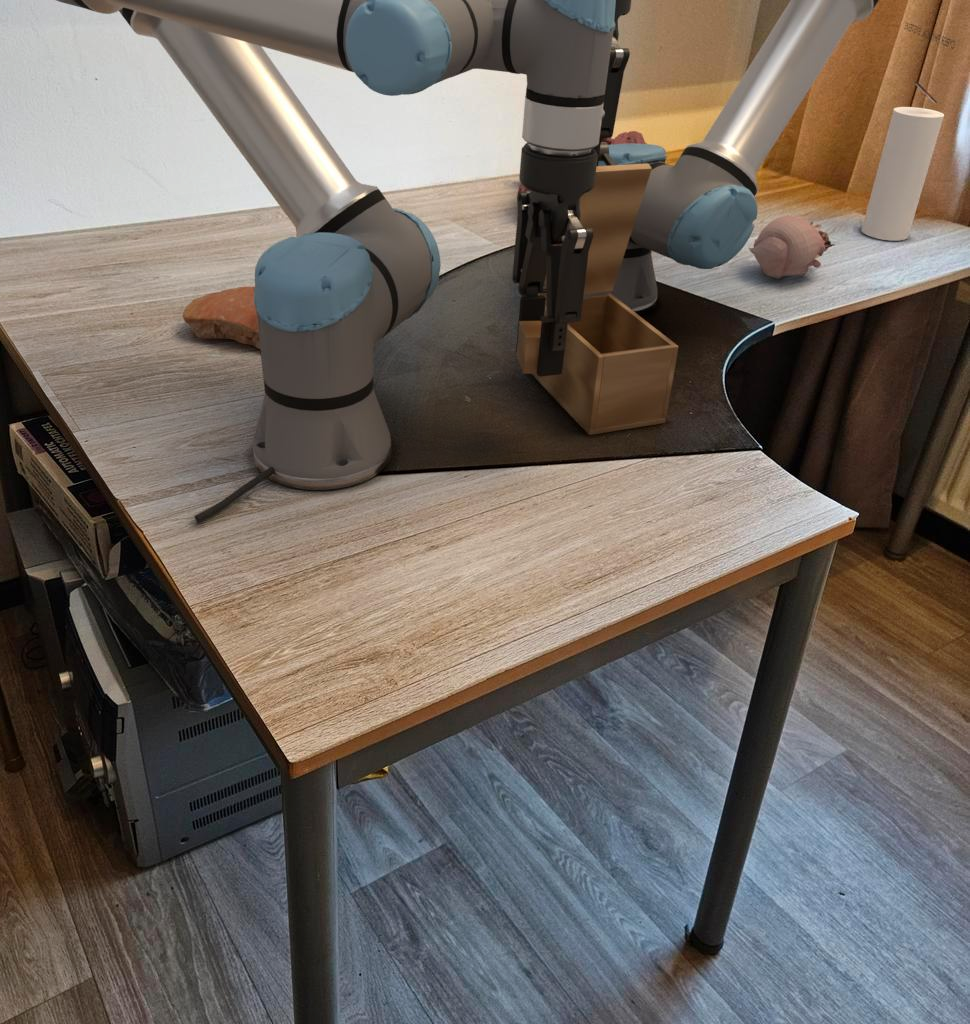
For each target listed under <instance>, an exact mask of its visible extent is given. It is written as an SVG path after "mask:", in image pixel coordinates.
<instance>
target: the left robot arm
mask: <svg viewBox="0 0 970 1024" xmlns="http://www.w3.org/2000/svg"><path fill="white" fill-rule="evenodd" d="M55 1H56V2H59V3H62V4H66V5H70V6H74V7H78V8H82V9H84V10H85V9H86V10H89V11H91V12H95V13H99V14H103V15H104V14H105V15H111V14H116V13H118V12H119V14H120V15H121V16H122V18H123V19H124V20H125V21H126V23H127V24H128V25H129V27H130V28H131V29H132V31H133V32H134V33H135V34H136V35H139V36H144V37H149V38H153V39H155V40H157V41H158V43H160V45H161V47H162V48H163V49H164V50H165V51H166V53H167V55H168V56H169V57H170V58H171V60H172V61H173V63H174V64H175V66H176V67H177V69H179V71H180V72H181V73H182V74H183V76H184V77H185V79H186V80H187V82H188V83H189V84H190V86H191V87H192V89H193V90H194V91H195V93H196V94H197V95H198V96H199V98H200V100H201V101H202V102H203V104H204V105H205V106H206V108H207V109H208V110H209V112H210V113H211V114H212V116H213V117H214V118H215V120H216V121H217V122H218V124H219V125H220V127H221V128H222V129H223V131H224V132H225V133H226V134H227V136H228V137H229V139H230V140H231V141H232V143H233V145H234V146H235V148H237V150H238V151H239V153H240V154H241V155H242V156H243V157H244V159H245V161H246V162H247V163H248V165H249V167H251V169H252V170H253V171H254V173H255V174H256V176H257V177H258V179H260V182H262V184H263V185H264V186H265V188H266V189H267V190H268V192H269V194H270V195H271V196H272V198H273V199H274V200H275V201H276V203H277V204H278V205H279V207H280V208H281V210H282V211H283V212H284V214H285V215H286V216H287V218H288V219H289V221H290V222H291V223H292V225H293V226H294V227H295V232H296V234H295V236H290V237H287V238H284V239H282V240H279V241H277V242H276V243H274V244H272V245H271V246H270V247H268V248H267V249H266V250H265V251H264V252H263V253H262V254H261V256H260V257H259V258H258V259H257V262H256V265H255V268H254V287H255V290H254V304H255V307H256V311H257V319H258V330H259V340H260V349H259V350H260V359H261V369H262V378H263V388H264V390H263V391H264V396H263V400H262V404H261V408H260V412H259V415H258V419H257V423H256V427H255V430H254V434H253V439H252V441H253V442H252V455H253V460H254V464H255V467H256V468H257V470H258V471H259V472H260V474H257V475H256V476H255V477H253V478H252V479H251V480H249V481H248V482H246V483H245V484H243V485H242V486H240V487H239V488H238V489H236V490H235V491H233V492H232V493H230V494H229V495H228V496H227V497H225V498H224V499H221V500H220V501H219V502H217V503H216V504H215V505H213V506H211V507H209V508H207V509H205V510H203V511H201V512H200V513H198V514H195V515H194V520H195V521H196V522H197V523H201V522H202V521H204V520H206V519H208V518H210V517H212V516H214V515H215V514H217V513H219V512H220V511H222V510H223V509H225V508H227V507H228V506H230V505H231V504H232V503H233V502H235V501H237V500H238V499H239V498H240V497H242V496H243V495H245V494H246V493H247V492H249V491H251V490H252V489H254V488H255V487H256V486H258V485H259V484H261V483H262V482H264V481H265V480H266V479H269V480H271V481H273V482H275V483H278V484H280V485H283V486H286V487H290V488H295V489H301V490H312V491H314V490H315V491H323V490H327V491H328V490H337V489H342V488H348V487H351V486H355V485H358V484H361V483H363V482H366V481H368V480H370V479H373V478H374V477H375V476H377V475H378V474H380V473H381V472H382V471H383V470H384V469H385V468H386V467H387V466H388V464H389V463H390V461H391V458H392V438H391V432H390V430H389V427H388V424H387V422H386V419H385V417H384V413H383V411H382V408H381V406H380V403H379V400H378V398H377V395H376V393H375V385H374V346H375V344H377V343H378V342H379V341H380V340H382V339H383V338H385V337H386V336H387V335H388V334H389V333H391V332H392V331H393V330H394V329H396V328H397V327H398V326H400V325H401V324H402V323H404V322H405V321H406V320H408V319H410V318H411V317H412V316H414V315H415V314H417V313H418V312H420V311H421V309H422V308H423V307H424V305H425V303H427V301H428V300H430V298H431V297H432V295H433V294H434V292H435V291H436V289H437V286H438V284H439V280H440V273H441V268H442V267H441V255H440V250H439V246H438V244H437V241H436V239H435V236H434V235H433V233H432V231H431V230H430V229H429V227H428V225H426V223H425V222H424V221H423V220H422V219H420V217H418V216H417V215H415V214H413V213H412V212H408V211H407V212H406V211H405V210H404V211H405V212H404V211H402V210H399V209H400V208H393V207H392V205H391V204H390V202H389V201H388V199H387V198H386V197H385V195H384V194H383V193H382V191H381V190H380V188H379V187H378V186H376V185H370V184H365V183H361V182H359V181H358V180H356V178H355V176H354V175H353V173H351V171H350V169H349V168H348V167H347V166H346V164H345V163H344V161H343V160H342V158H341V157H340V155H339V154H338V153H337V151H336V149H335V148H334V147H333V146H332V145H331V142H330V141H329V140H328V139H327V137H326V136H325V134H324V133H323V131H322V130H321V128H320V127H319V125H317V123H316V121H315V120H314V119H313V117H312V116H311V114H310V113H309V112H308V110H307V108H306V107H305V106H304V105H303V103H302V102H301V101H300V100H301V99H299V97H298V96H297V94H296V93H295V92H294V90H293V89H292V88H291V86H290V85H289V83H288V82H287V81H286V79H285V78H284V76H283V75H282V73H281V72H280V71H279V69H278V68H277V66H276V65H275V64H274V62H273V61H272V59H271V58H270V57H269V55H268V54H267V53H266V51H265V50H264V48H267V49H270V50H273V51H276V52H280V53H284V54H287V55H291V56H293V57H298V58H301V59H304V60H309V61H312V62H316V63H319V64H323V65H326V66H329V67H332V68H333V67H334V68H337V69H340V70H344V71H347V72H351V73H354V75H355V76H356V77H357V78H358V79H359V80H360V81H361V82H362V83H363V84H364V85H365V86H366V87H367V88H368V89H370V90H371V91H373V92H374V93H377V94H379V95H383V96H389V97H390V96H391V97H396V96H402V95H407V96H409V95H414V94H418V93H421V92H423V91H425V90H427V89H428V88H430V87H432V86H433V85H435V84H438V83H441V82H443V81H445V80H448V79H450V78H453V77H456V76H459V75H461V74H464V73H467V72H470V71H472V70H487V71H494V72H503V73H504V72H505V73H510V74H515V75H525V76H526V89H525V96H524V107H523V118H522V132H521V133H522V134H521V138H522V139H523V140H524V141H525V142H526V143H524V145H523V146H522V147H521V150H520V151H521V152H520V153H521V154H520V162H519V163H520V165H519V177H518V178H519V182H520V184H522V185H523V186H524V187H526V188H527V189H529V190H531V191H528V192H518V191H517V194H516V207H517V219H516V229H515V230H516V231H515V239H514V240H515V242H514V252H513V253H514V255H513V265H512V275H511V276H512V277H511V279H512V282H513V283H514V284H518V287H517V289H518V294H519V295H520V299H519V300H520V302H519V313H518V325H517V332H518V331H519V321H541V322H542V324H541V334H540V344H539V354H538V364H537V375H538V376H539V377H543V376H551V375H559V374H562V369H563V360H564V352H565V343H566V334H567V326H568V322H577V321H580V320H581V313H582V304H583V295H584V287H585V278H586V269H587V261H588V252H589V249H590V246H591V242H592V239H593V229H592V228H583V227H582V225H581V223H580V222H579V220H580V197H581V196H582V195H583V194H585V193H587V192H589V191H590V190H591V189H592V188H593V187H594V184H595V175H596V167H597V159H598V154H597V153H596V150H595V149H594V147H596V146H597V145H598V144H599V138H600V130H601V122H602V118H603V117H604V115H605V111H604V110H603V104H604V97H605V88H606V81H607V74H608V67H609V59H610V52H611V45H612V38H613V32H614V30H615V21H614V17H615V3H616V0H55ZM553 244H562V245H560V246H553ZM545 278H546V285H545V284H544V282H545ZM538 293H547V298H546V297H545V296H544V295H539V296H538ZM546 300H547V316H544V312H545V302H546ZM516 335H517V336H516V348H515V352H516V353H517V344H518V333H517V334H516Z"/></svg>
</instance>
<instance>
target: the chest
mask: <svg viewBox="0 0 970 1024" xmlns="http://www.w3.org/2000/svg"><path fill="white" fill-rule="evenodd" d="M544 316H547V299H546V302H545V312H544ZM678 350H679V345H677V344H676V343H675V342H674V341H672V340H671V339H670V338H669V337H667V336H666V335H664V334H663V333H662V332H661V331H660V330H659V329H657V328H656V327H655V326H653V325H652V324H650V323H649V322H648V321H646V320H645V319H644V318H643V317H641V315H638V314H636V313H635V312H634V311H632V310H631V309H630V308H629V307H627V306H626V305H625V304H623V303H622V302H621V301H620V300H618V299H617V298H616V297H615V296H613V295H612V294H611V293H607V294H598V295H589V296H583V304H582V313H581V320H580V321H577V322H568V326H567V334H566V343H565V352H564V360H563V369H562V374H559V375H551V376H543V377H539V376H538V375H537V373H530V375H532V376H533V377H534V378H535V380H536V381H538V383H539V384H540V385H541V386H542V387H543V388H544V389H545V390H546V391H547V392H548V394H550V395H551V397H552V398H554V400H555V401H556V402H557V403H558V404H559V405H560V406H561V408H563V409H564V410H565V411H566V412H567V414H568V415H569V416H570V417H571V418H572V419H573V420H574V421H575V422H576V423H577V425H579V426H580V427H581V429H583V430H584V431H585V433H587V435H588V436H593V435H600V434H606V433H610V432H618V431H624V430H629V429H630V430H631V429H637V428H642V427H643V428H644V427H648V426H655V425H656V426H657V425H660V424H661V425H662V424H666V423H667V422H666V421H667V417H668V411H669V405H670V399H671V393H672V392H671V391H672V388H673V381H674V375H675V370H676V364H677V359H678V353H679V351H678Z"/></svg>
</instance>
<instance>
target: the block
mask: <svg viewBox="0 0 970 1024" xmlns="http://www.w3.org/2000/svg"><path fill="white" fill-rule="evenodd" d="M518 323H519V331H518V330H517V334H518V344H517V343H516V346H517V352H516V359H517V361H518V364H519V366H520V370H521V372H522V374H531V373H537V364H538V354H539V344H540V334H541V324H542V322H541V321H519V320H518Z"/></svg>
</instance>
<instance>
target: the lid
mask: <svg viewBox="0 0 970 1024" xmlns="http://www.w3.org/2000/svg"><path fill="white" fill-rule="evenodd" d="M599 161H604V163H605V164H606V166H597V167H596V175H595V184H594V187H593V188H592V189H591V190H590V191H589V192H587V193H585V194H583V195H582V196H581V197H580V220H579V222H580V223H581V225H582V227H583V228H592V229H593V239H592V242H591V246H590V249H589V252H588V261H587V269H586V278H585V287H584V294H590V293H599V292H608V291H613V288H614V285H615V281H616V278H617V275H618V272H619V269H620V266H621V263H622V260H623V257H624V254H625V250H626V247H627V244H628V241H629V238H630V235H631V232H632V229H633V226H634V223H635V220H636V216H637V213H638V210H639V207H640V204H641V201H642V198H643V195H644V192H645V189H646V185H647V182H648V179H649V176H650V173H651V170H652V168H651V166H650V165H649V164H648V163H645V164H628V165H616V164H615V162H614V161H613V160H612V158H611V157H610V156H609V146H608V144H607V143H606V142H601V144H600V154H599ZM560 245H562V244H553V246H560ZM544 284H545V285H546V278H545V282H544ZM539 295H544V296H545V297H546V299H547V293H538V296H539Z"/></svg>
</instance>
